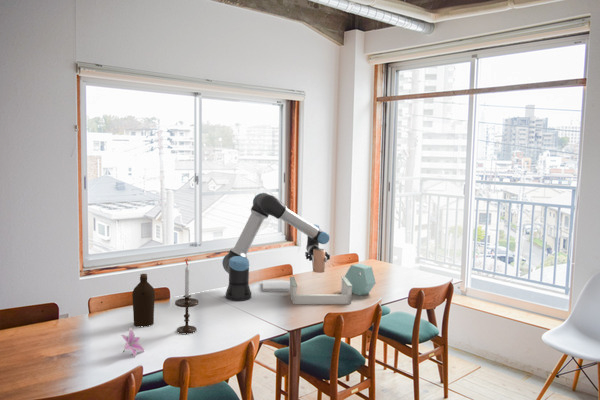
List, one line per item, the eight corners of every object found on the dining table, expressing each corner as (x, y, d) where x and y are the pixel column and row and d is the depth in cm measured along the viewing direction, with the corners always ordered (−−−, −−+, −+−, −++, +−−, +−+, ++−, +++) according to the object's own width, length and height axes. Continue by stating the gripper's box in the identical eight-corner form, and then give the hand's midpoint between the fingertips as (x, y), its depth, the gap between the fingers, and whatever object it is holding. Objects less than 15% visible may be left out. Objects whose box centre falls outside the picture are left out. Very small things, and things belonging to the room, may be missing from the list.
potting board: (263, 291, 304) (263, 288, 304) (262, 283, 322) (262, 280, 322) (292, 291, 306) (292, 288, 306) (289, 283, 324) (289, 280, 324)
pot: (313, 272, 289) (314, 250, 287) (312, 269, 296) (312, 248, 294) (325, 272, 289) (326, 250, 288) (323, 269, 296) (324, 248, 295)
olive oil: (158, 324, 243) (158, 275, 241) (138, 329, 236) (138, 278, 234) (148, 318, 251) (148, 270, 248) (128, 323, 244) (128, 273, 241)
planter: (365, 299, 310) (380, 276, 299) (356, 301, 305) (371, 278, 294) (349, 280, 320) (363, 257, 309) (341, 281, 315) (355, 258, 304)
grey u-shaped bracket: (292, 304, 281) (292, 285, 280) (289, 293, 301) (289, 276, 300) (351, 303, 285) (352, 285, 284) (344, 293, 305) (345, 276, 304)
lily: (119, 364, 201) (130, 345, 200) (107, 345, 208) (118, 326, 207) (142, 363, 210) (153, 345, 209) (130, 345, 217) (141, 327, 216)
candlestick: (177, 336, 229) (177, 262, 226) (173, 328, 239) (173, 257, 235) (200, 333, 234) (201, 260, 230) (195, 325, 243) (196, 256, 240)
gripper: (330, 257, 312) (336, 266, 290) (298, 257, 310) (302, 266, 288) (330, 246, 312) (336, 254, 289) (299, 245, 309) (303, 253, 287)
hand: (319, 260), depth 288 cm, fingers closed on pot, 7 cm apart
